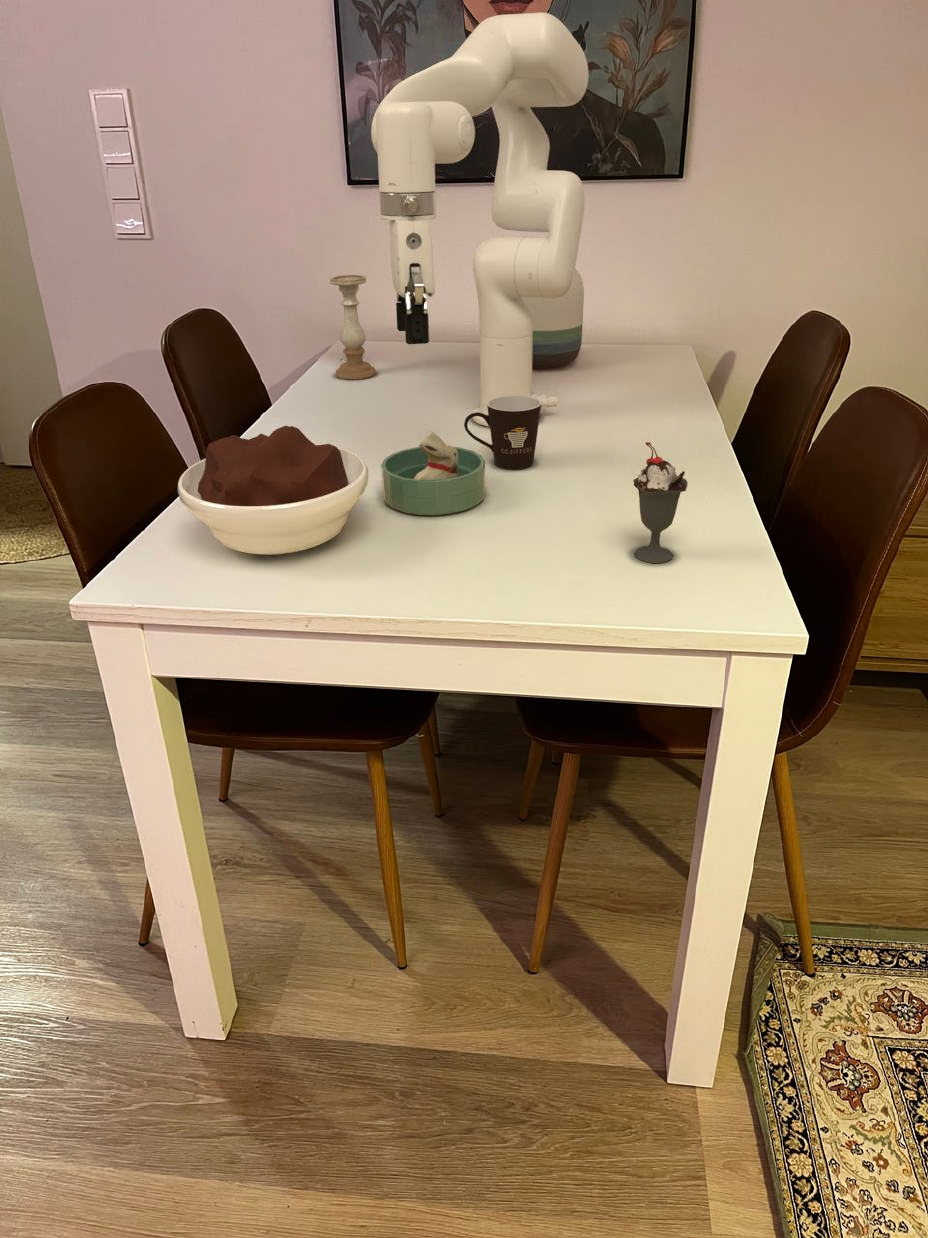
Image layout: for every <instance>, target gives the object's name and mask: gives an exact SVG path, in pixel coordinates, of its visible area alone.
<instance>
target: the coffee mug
mask: <svg viewBox="0 0 928 1238" xmlns="http://www.w3.org/2000/svg"><path fill="white" fill-rule="evenodd" d="M487 408H488V415H485V414H483V413H479V412H476V413H473V412H472V413H469V415H467V416H466V417H465V419H464V422H463V423H464V424H463V427H464V430H465V432H466V433H467V435H469V436H470V438H471V439H473V440H474V441H476V442H478V443H479V444H481V445H483V446H485V447H487V448H489V449H490V450H491V452H492V455H493V463H494V466H495V467H497V468H499V469H502V470H507V471H521V470H526V469H529V468H531V467H533V465H534V461H535V454H536V446H537V438H538V431H539V422H540V418H541V408H542V407H541V401H540V400H538V399H536V398H533V397H528V396H516V395H514V396H502V397H497V398H493V399H491V400H489V401H488V402H487ZM475 416H479V417H482V418H484V419H485V421H486V422H487V424H488V425H489V426H490V427H489V426H488V427H489V431H490V439H491V443H488V442H487V441H486V440H483V439H481V438H479V437H477V436H476V435H474V434H473V432H471V431H470V429H469V428H468V423H469V421H470V420H471V419H473V417H475ZM539 417H540V418H539Z"/></svg>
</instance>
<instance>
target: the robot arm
mask: <svg viewBox="0 0 928 1238" xmlns="http://www.w3.org/2000/svg"><path fill="white" fill-rule="evenodd" d="M588 84H589V65H588V60H587V57H586V55H585V52H584V50H583V48H582V47H581V45H580V43H579V42H578V41H577V39H576V38H575V37H574V36H573V34H572V33H571V32H570V30H569V28H567V26H566V25H565V24H564V23H563V22H562V21H561V20H560V19H558V18H557V17H556V16H554V15H552V14H551V13H548V12H527V13H526V12H525V13H511V14H509V13H508V14H498V15H493V16H490V17H487V18H485V19H483V20H482V21H481V22H480V23H479V24H478V25H477V26H476V27H475V28H474V29H473V31H472V32H471V33H470V34H469V35H468V37H467V38H466V39H465V40H464V42H463V43H462V44H461V45H460V46H459V48H457V50H456V51H455V52H454V53H453V55H451V57H449V58H446V59H443V60H441V61H439V62H437V63H435V64H433V65H431V66H429V67H427V68H425V69H423V70H421V71H419V72H417V73H415V74H412V75H411V76H409V77H407V78H405V79H403V80H402V81H400V82H399V83H397V84H396V85H395V86H393V88H392V89H391V90H390V91H389V92H388V93H387V95H386V96H385V97H384V98H383V99H382V100H381V102H380V103H379V105H378V106H377V108H376V110H375V112H374V115H373V118H372V120H371V121H372V122H371V128H370V133H371V142H372V145H373V148H374V150H375V152H376V154H377V167H378V168H377V169H378V171H377V172H378V189H379V210H380V212H379V213H380V219H381V220H383V221H384V220H385V221H388V223H389V224H388V225H389V247H390V248H389V249H390V265H391V277H392V285H393V289H394V291H395V293H396V303H395V311H396V312H395V313H396V329H397V331H399V332H404V334H405V343H406V344H407V345H424V344H428V343H429V342H430V328H429V327H430V326H429V325H430V324H429V313H428V303H427V296H428V297H430V298H431V297H433V296H434V295H435V293H436V288H435V273H434V272H435V269H434V254H433V251H434V250H433V239H432V238H433V237H432V230H431V221H430V220H435V219H436V218H437V207H436V206H437V204H436V164H437V165H438V164H444V165H445V164H455V163H458V162H460V161H461V160H463V159H465V158H466V157H467V156H468V155H469V154H470V153H471V150H472V148H473V145H474V143H475V138H476V128H475V123H474V119H473V117H476V116H478V115H481V114H483V113H484V112H486V111H488V110H489V109H490V108H491V109H492V112H493V116H494V119H495V122H496V126H497V129H498V134H499V146H498V147H499V148H498V155H497V156H498V157H497V161H496V162H497V163H496V170H495V176H494V181H493V182H494V183H493V189H492V195H491V196H492V197H491V207H490V209H491V210H490V211H491V219H492V221H493V223H494V224H495V226H497V227H498V228H500V229H503V230H506V231H514V232H531V233H532V232H533V233H548V237H534V236H533V237H532V236H513V235H512V236H511V235H499V236H497V235H496V236H492V237H488V238H486V239H484V240H483V241H481V242H480V243H479V244H478V245H477V247H476V249H475V251H474V253H473V258H472V271H473V277H474V282H475V288H476V293H477V294H476V295H477V301H478V316H479V317H478V320H479V322H478V323H479V393H480V395H479V396H480V402H479V403H480V406H478V407H476V408H475V409H474V410H472V413H476V412H479V413H483V414H485V415H488V408H487V402H488V401H489V400H491V399H493V398H497V397H502V396H514V395H516V396H528V397H533V398H536V399H538V400H540V401H541V408H553V407H557V406H558V397H557V396H556V395H552V396H551V395H550V396H547V394H538V395H536V394H535V393H534V392H533V368H532V347H533V322H532V317H531V314H530V312H529V310H528V308H527V306H526V304H525V303H524V301H523V299H522V298H521V297H540V298H558V297H562V296H563V295H565V294H566V293H567V292H568V290H569V289H570V286H571V283H572V280H573V276H574V270H575V269H576V265H577V259H578V252H579V246H580V239H581V233H582V227H583V221H584V215H585V201H586V200H585V189H584V185H583V182H582V179H581V178H580V176H578V175H577V174H576V173H574V172H572V171H568V170H555V169H554V170H551V169H550V170H548V162H549V155H550V148H551V145H550V139H549V135H548V134H547V132H546V130H545V127H544V126H543V125H542V123H541V122H540V120H539V119H538V117H537V116H536V114H535V113H534V112H533V110H532V108H553V107H555V108H556V107H557V108H560V107H561V108H562V107H563V108H564V107H571V106H574V105H576V104H577V103H579V102H580V101H581V100H583V99H582V98H583V97H584V96H585V94H586V92H587V88H588ZM426 295H427V296H426ZM540 418H541V416H540V417H539V419H540ZM472 420H473V422H475V423H476V424H478V425H481V426H484V427H489V428H490V426H489V425H488V424H487V422H486V421H485V419H484V418H482V417H479V416H475V417H473V418H472Z"/></svg>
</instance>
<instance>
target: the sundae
mask: <svg viewBox="0 0 928 1238" xmlns="http://www.w3.org/2000/svg"><path fill="white" fill-rule="evenodd" d="M645 445H646V446H647V447H649V448H650V451H651V455H650V458H647V459H646V461H645V463H646V466H644V468H642V469H641V470H640V473H639V474H638V475H637V476H638V477H636V478H634V479H633V481H632V482H633V486H634V488H636V489H637V491H638V499H639V500H638V501H639V514H640V521H641V523H642V524H643V525H644V527H645V528H647V530H649V531H650V539H649V544H648V545H646V546H645V545H644V546H640V547H639V548H637V549H636V550H634V553H633V555H634V556H635V558H636V559H638V560H639V561H641V562H644V563H648V564H665V563H667V562H669V561H671V560H672V559H673V558H674V554H673V552H672V551H671V550H670V549H668V548H666V547H663V546H661V543H660V541H661V540H660V538H661V533H662V532H663V531H665V530H667V529H668V528H669V527H670V526H671V525H672V524H673V522H674V519H675V516H676V511H677V508H678V503H679V500H680V496H681V493H682V492H686V491H687V488H688V486H689V485H688V483H689V482H688V480H687V479H686V478H685V477H684V475H685V474H686V471H684V470H683V471H682V472H680V473H679V474H677V473H676V467H675V466H673V465H672V463H671V462H669V461H668V460H663V458H662V457H661V456H659V455H658V454H657V451H656V450H655V448H654V446H653V445H652V442H650V441H649V442H648V441H646V442H645ZM654 454H655V457H654Z"/></svg>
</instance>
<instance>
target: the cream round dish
mask: <svg viewBox="0 0 928 1238" xmlns="http://www.w3.org/2000/svg"><path fill="white" fill-rule="evenodd" d="M368 482H369V467H368V465H367V464H366V462H365V460H363V458H362V457H361V456H360V455H358V454H356V453H355V452H353V451H351V450H349V449H345V448H343V447H339V446H336V445H333V444H330V443H317V442H312V441H311V439H309V437H307V436H306V435H305V434H304V433H303V431H302V430H301V429H299V428H298V427H297V426H292V425H290V426H289V425H283V426H281V427H278V428H276V429H275V430H273V431H272V432H271V433H270V434H269V435H266V434H264V433H259V434H258V435H257V436H255V437H251V438H249V439H247V438H242V437H241V436H239V435H234V434H232V435H230V436H227V437H223V438H220V439H217V440H215V441H212V442H210V443H208V445H207V448H206V449H205V458H203V459H201V460H199V461H197V462H195V463H194V464H191V466H189V467H188V468H187V469H186V470H184V472H183V473H182V474H181V475H180V477H179V480H178V483H177V488H176V489H177V494H178V496H179V500H180V502H181V503H182V504H183V506H184V507H185V508H186V510H187V511H188V512H190V514H192V516H194V517H195V518H196V519H197V520H198V521H199V522H201V523H202V524H204V525H206V526H207V527H208V529H209V531H210V533H211V534H212V535H213V537H214V538H215V539H216V540H217V541H218V542H219V543H220V544H221V545H223V546H225V547H226V548H229V549H231V550H235V551H236V552H237V551H238V552H241V553H244V554H245V553H246V554H252V555H262V556H263V555H264V556H271V555H284V554H286V555H287V554H291V553H296V552H297V553H298V552H303V551H307V550H309V549H313V548H315V547H318V546H320V545H322V544H324V543H326V542H329V541H330V540H332V539H333V538H334V537H336V536H337V535H338V534H340V533H341V532H342V531H343V529H344V528H345V525H346V523H347V521H348V519H349V515H350V511H351V510H352V509H353V508H354V507H355V506H356V504H357V503H358V502H359V500H360V499H361V497H362V495H363V494H364V492H365V489H366V487H367V485H368Z"/></svg>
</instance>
